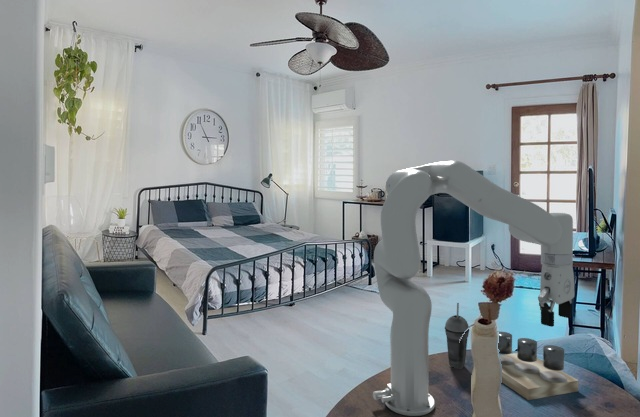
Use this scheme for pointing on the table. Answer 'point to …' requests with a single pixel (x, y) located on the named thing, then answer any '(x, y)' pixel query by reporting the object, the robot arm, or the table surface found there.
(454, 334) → the beverage cup
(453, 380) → the table surface
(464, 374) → the table surface
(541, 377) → the mount plate
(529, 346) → the knob mid
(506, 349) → the knob left
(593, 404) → the table surface
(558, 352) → the knob right
